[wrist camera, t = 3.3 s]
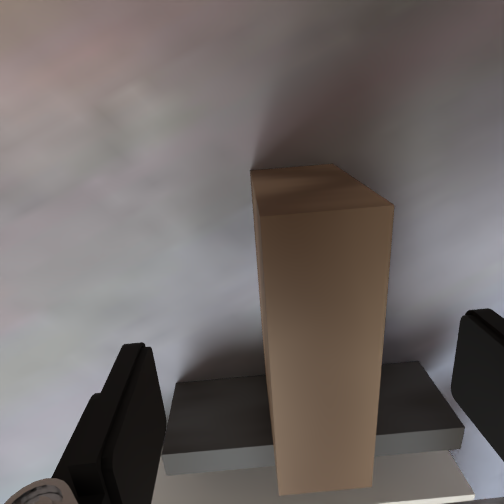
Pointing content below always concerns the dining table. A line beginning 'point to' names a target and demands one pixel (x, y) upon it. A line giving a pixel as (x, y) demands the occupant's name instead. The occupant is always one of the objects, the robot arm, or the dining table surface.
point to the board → (351, 500)
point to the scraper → (314, 350)
